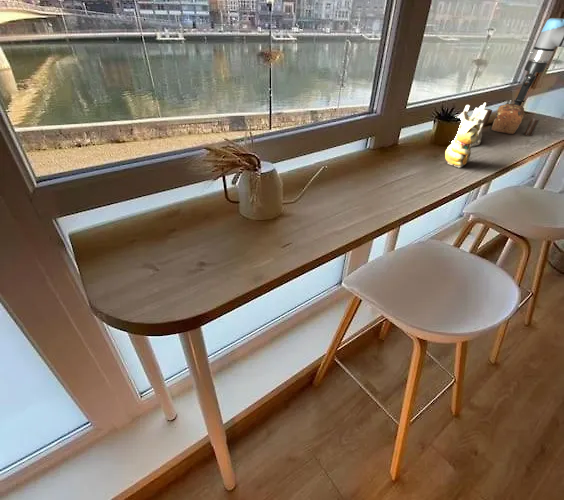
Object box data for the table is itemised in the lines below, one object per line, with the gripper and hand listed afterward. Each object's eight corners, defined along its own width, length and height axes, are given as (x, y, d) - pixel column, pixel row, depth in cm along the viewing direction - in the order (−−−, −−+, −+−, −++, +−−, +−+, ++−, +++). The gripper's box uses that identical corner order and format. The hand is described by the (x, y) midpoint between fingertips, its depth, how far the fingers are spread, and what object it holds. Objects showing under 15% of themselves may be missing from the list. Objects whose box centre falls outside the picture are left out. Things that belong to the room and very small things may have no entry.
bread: (514, 135, 145) (526, 112, 138) (488, 130, 149) (498, 107, 143) (517, 125, 157) (527, 103, 151) (492, 120, 161) (501, 99, 155)
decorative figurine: (462, 171, 113) (480, 127, 103) (438, 164, 116) (453, 121, 107) (469, 162, 119) (486, 120, 109) (445, 156, 122) (460, 115, 113)
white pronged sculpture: (450, 129, 147) (463, 94, 137) (486, 141, 138) (503, 105, 128) (432, 139, 139) (444, 102, 129) (469, 152, 130) (485, 114, 120)
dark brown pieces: (531, 134, 146) (540, 118, 142) (530, 136, 144) (539, 120, 140) (479, 123, 157) (486, 108, 152) (478, 125, 155) (484, 109, 151)
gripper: (531, 58, 149) (506, 111, 164) (526, 61, 141) (500, 117, 156) (550, 60, 145) (522, 115, 160) (545, 64, 138) (517, 121, 153)
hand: (511, 116), depth 158 cm, fingers closed
